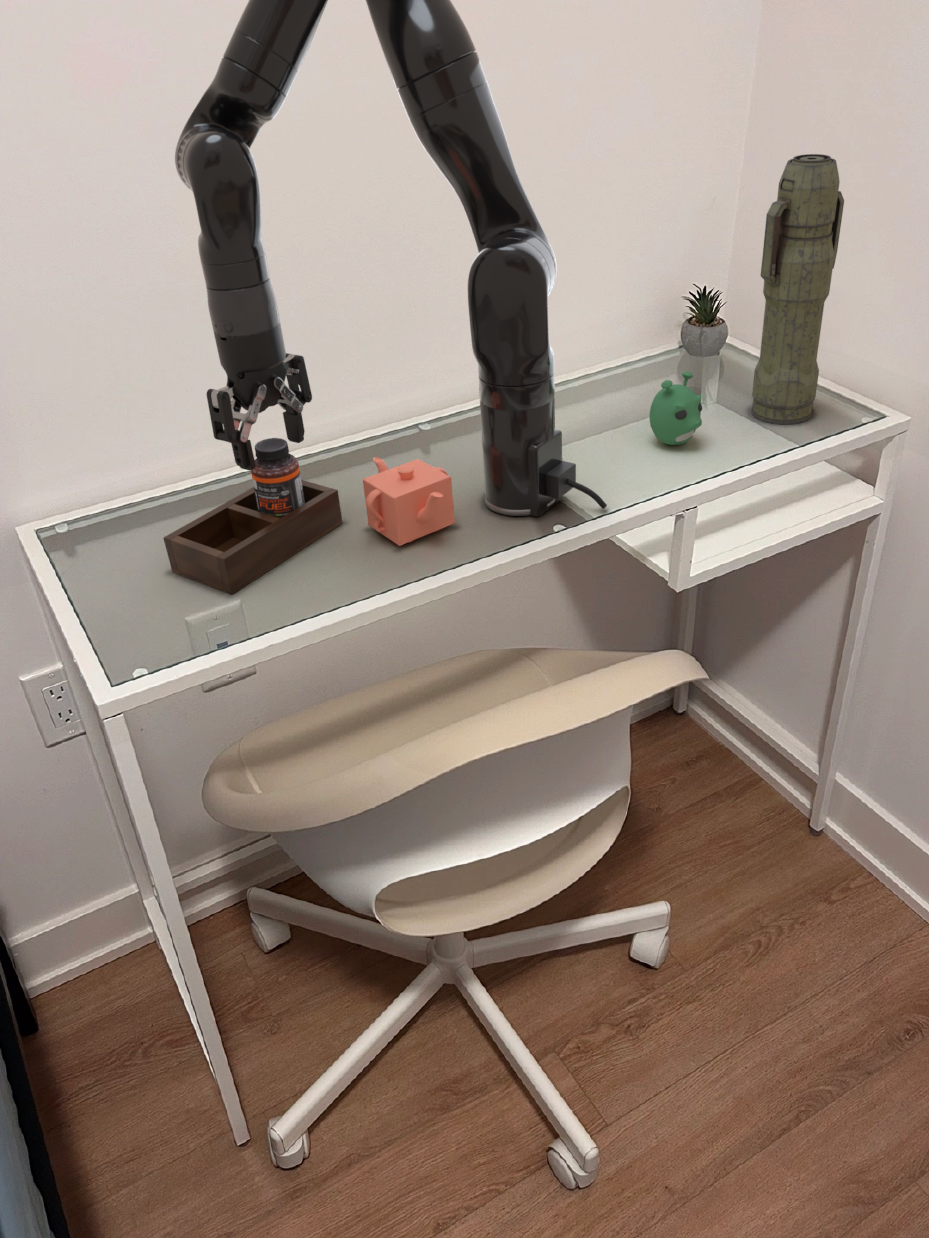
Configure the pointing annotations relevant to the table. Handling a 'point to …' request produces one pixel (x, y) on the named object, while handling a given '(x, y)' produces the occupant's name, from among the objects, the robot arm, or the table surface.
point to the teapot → (408, 500)
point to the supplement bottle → (276, 478)
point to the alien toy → (675, 412)
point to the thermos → (796, 287)
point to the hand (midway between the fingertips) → (272, 454)
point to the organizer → (249, 538)
